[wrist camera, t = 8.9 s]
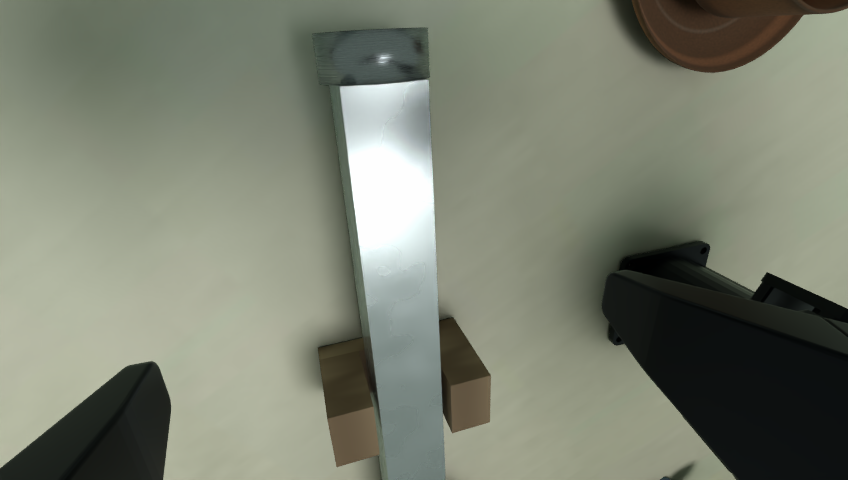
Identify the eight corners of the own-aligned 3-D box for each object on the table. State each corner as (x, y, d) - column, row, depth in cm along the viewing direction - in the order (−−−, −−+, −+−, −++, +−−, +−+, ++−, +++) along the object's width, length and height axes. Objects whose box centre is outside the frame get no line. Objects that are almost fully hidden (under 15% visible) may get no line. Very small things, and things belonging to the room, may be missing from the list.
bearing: (453, 317, 25) (490, 375, 20) (454, 359, 26) (489, 422, 22) (317, 347, 23) (327, 418, 19) (326, 391, 24) (336, 467, 20)
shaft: (410, 30, 17) (443, 25, 14) (439, 543, 32) (459, 605, 28) (308, 35, 16) (316, 32, 13) (385, 563, 31) (399, 629, 27)
